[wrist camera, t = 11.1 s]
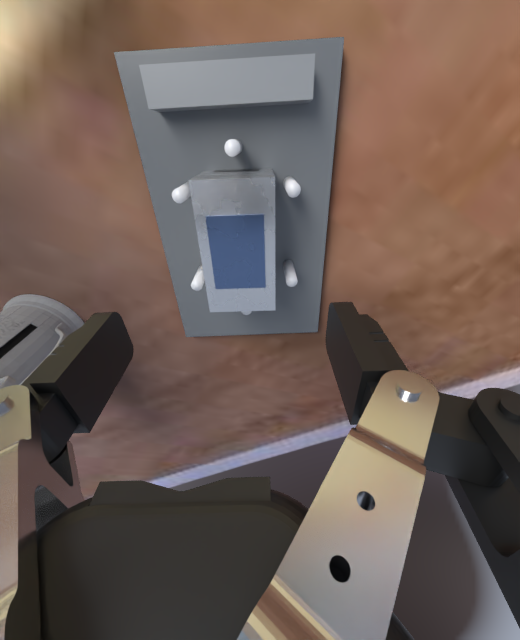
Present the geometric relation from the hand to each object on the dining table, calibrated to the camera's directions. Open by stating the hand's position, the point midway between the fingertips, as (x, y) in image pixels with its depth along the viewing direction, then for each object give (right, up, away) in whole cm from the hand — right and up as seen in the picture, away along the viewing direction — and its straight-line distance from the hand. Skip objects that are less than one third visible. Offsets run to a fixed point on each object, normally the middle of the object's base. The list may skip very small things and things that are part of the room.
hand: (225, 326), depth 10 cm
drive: (0, +8, +12) cm, 14 cm away
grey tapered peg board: (0, +9, +13) cm, 16 cm away
